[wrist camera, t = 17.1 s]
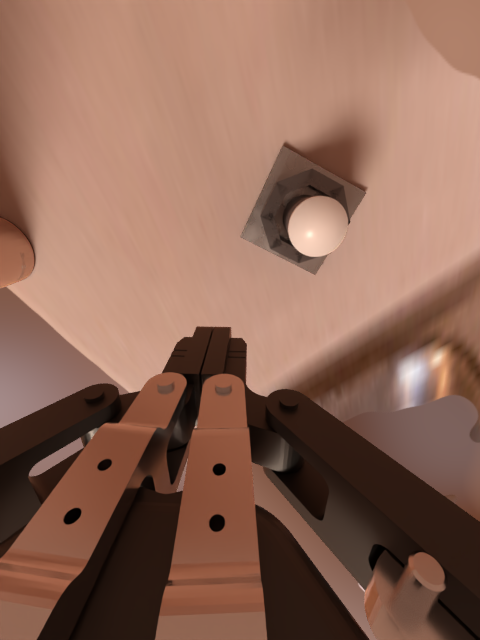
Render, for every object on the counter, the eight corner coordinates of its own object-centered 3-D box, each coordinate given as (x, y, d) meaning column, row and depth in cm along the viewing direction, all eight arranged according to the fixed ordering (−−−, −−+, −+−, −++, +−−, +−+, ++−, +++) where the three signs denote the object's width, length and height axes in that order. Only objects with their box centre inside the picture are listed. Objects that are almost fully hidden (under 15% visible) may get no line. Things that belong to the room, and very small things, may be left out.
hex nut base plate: (240, 236, 36) (237, 242, 32) (282, 146, 31) (285, 139, 27) (314, 273, 37) (320, 284, 33) (364, 192, 33) (379, 192, 29)
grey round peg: (274, 227, 35) (278, 241, 26) (295, 185, 32) (308, 184, 23) (310, 246, 35) (326, 266, 26) (333, 206, 33) (360, 213, 24)
